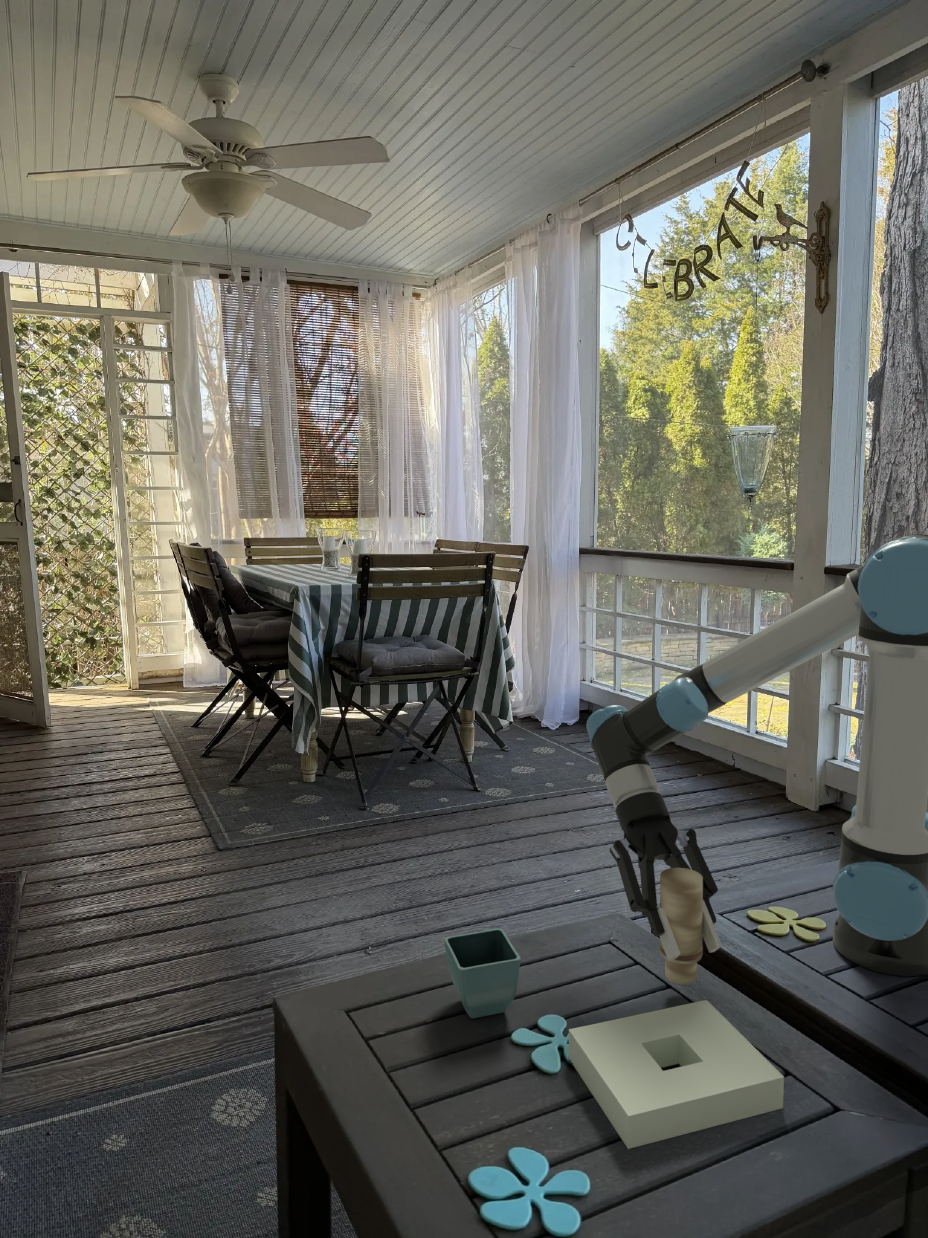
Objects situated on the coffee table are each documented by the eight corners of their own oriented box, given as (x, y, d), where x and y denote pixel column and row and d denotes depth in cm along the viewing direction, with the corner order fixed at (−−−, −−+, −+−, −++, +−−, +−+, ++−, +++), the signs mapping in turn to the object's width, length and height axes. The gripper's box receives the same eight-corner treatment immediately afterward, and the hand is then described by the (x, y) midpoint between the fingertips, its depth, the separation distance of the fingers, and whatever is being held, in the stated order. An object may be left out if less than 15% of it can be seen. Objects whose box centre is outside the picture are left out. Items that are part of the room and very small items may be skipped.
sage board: (706, 1027, 115) (706, 1000, 114) (782, 1108, 100) (784, 1077, 99) (568, 1058, 109) (568, 1029, 108) (628, 1149, 94) (628, 1116, 93)
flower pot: (460, 1031, 115) (459, 969, 114) (444, 995, 123) (443, 936, 122) (522, 1019, 117) (521, 959, 116) (502, 984, 126) (501, 927, 124)
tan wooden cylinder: (688, 961, 126) (688, 865, 124) (711, 983, 120) (712, 882, 118) (651, 969, 124) (651, 871, 122) (673, 991, 119) (673, 889, 116)
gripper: (682, 803, 137) (742, 950, 124) (574, 819, 131) (625, 974, 118) (700, 782, 131) (765, 933, 118) (588, 797, 126) (643, 958, 112)
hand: (695, 953), depth 118 cm, fingers closed on tan wooden cylinder, 6 cm apart
